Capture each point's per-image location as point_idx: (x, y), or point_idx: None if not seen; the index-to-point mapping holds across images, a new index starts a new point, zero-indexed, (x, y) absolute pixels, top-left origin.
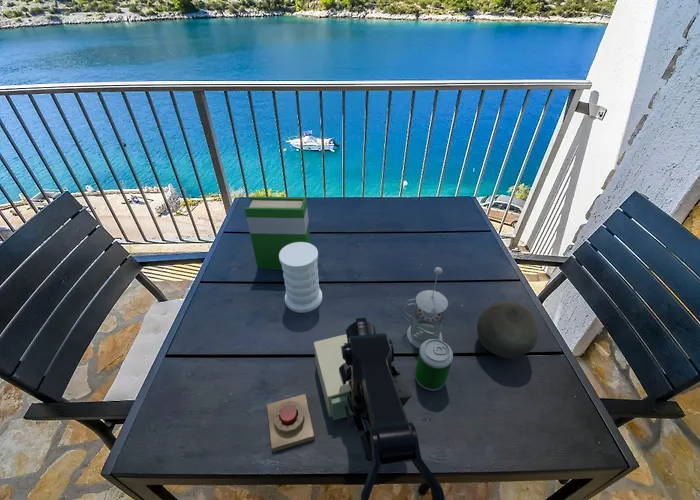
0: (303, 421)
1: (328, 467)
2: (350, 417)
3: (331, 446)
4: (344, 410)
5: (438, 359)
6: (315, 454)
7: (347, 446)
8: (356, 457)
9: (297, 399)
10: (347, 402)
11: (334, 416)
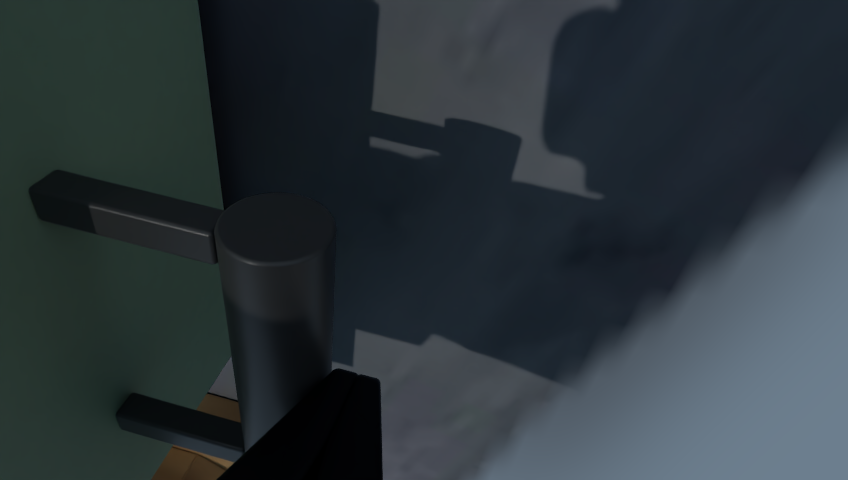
0: (209, 476)
1: (494, 446)
2: (236, 450)
3: (393, 389)
4: (167, 368)
5: None
6: (399, 452)
7: (435, 331)
8: (534, 325)
9: None
10: (64, 472)
11: (209, 380)
